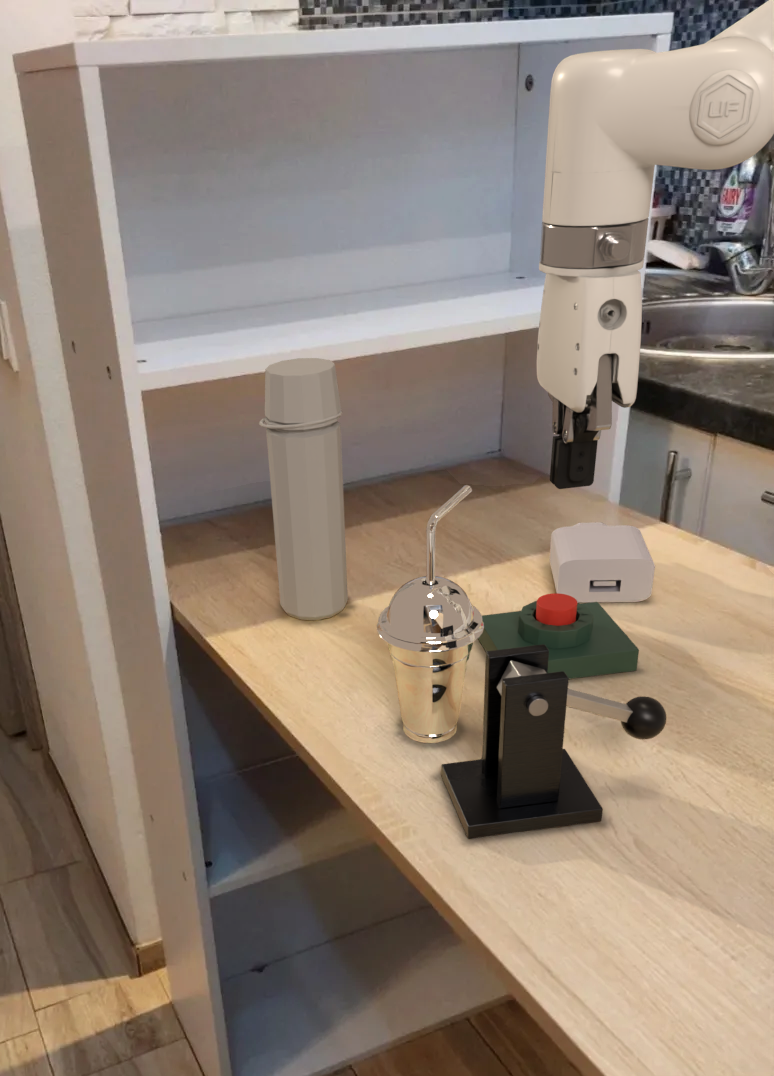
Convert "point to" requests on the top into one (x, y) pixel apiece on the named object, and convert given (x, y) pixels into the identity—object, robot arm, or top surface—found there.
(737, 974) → the top surface
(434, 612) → the cup with straw
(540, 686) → the black lever stand
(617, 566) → the charger
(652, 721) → the tap lever
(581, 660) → the green button base
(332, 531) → the water bottle
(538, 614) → the button
